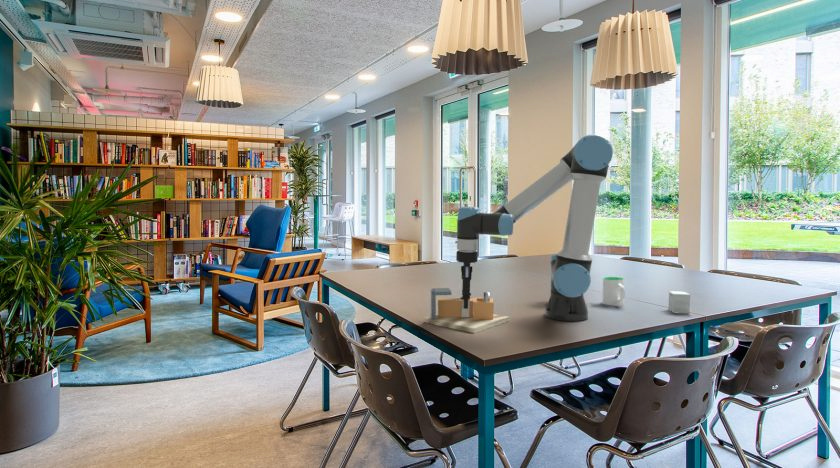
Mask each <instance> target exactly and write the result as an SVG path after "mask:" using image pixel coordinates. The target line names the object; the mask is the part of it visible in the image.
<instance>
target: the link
mask: <svg viewBox="0 0 840 468" xmlns="http://www.w3.org/2000/svg"><path fill="white" fill-rule="evenodd" d="M437 314H438V317H462V299H460V298H458V297H439V298H438V299H437ZM493 314H494V297H490V302H484V297H473V298H470V309H469V317H471V318H473V319H493Z"/></svg>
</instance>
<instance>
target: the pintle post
mask: <svg viewBox="0 0 840 468" xmlns="http://www.w3.org/2000/svg"><path fill="white" fill-rule="evenodd" d="M483 298H484V302H490V298H491V292H490V291H484V292H483Z"/></svg>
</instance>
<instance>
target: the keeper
mask: <svg viewBox="0 0 840 468" xmlns="http://www.w3.org/2000/svg"><path fill="white" fill-rule="evenodd" d="M437 296H452V290H451V288H450V287H433V288H430V316H431V320H436V315H437V311H436V309H437V308H436V307H437V306H436V305H437V301H436V299H437Z"/></svg>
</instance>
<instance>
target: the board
mask: <svg viewBox="0 0 840 468" xmlns="http://www.w3.org/2000/svg"><path fill="white" fill-rule="evenodd" d="M425 322H426V323H425ZM507 322H510V317H509V316H506V315H500V314H496V313H493V319H473V318H471V317H438V313H436V320H431V315H430V316H427V317H426V316H425V317H424V318H423V323H425V324H429V323H430V324H431V325H435V326H440V327H443V328H444V327H445V328H450V329H452V330H453V329H454V330H458V331H463V332H466V333H471V334H472V333H473V334H477V333H479V332H482V331H484V330H488V329H491V328H493V327H496V326H499V325H502V324H504V323H505V324H506V323H507Z"/></svg>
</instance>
